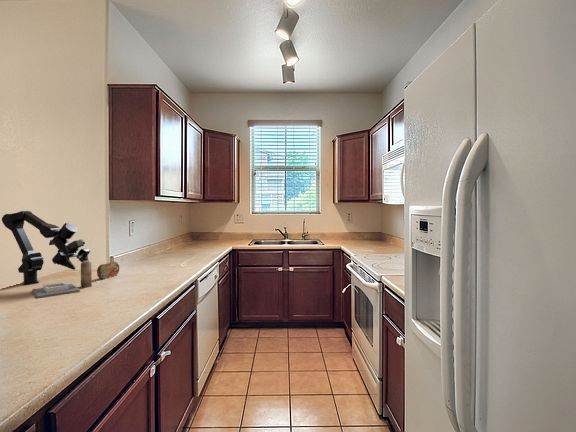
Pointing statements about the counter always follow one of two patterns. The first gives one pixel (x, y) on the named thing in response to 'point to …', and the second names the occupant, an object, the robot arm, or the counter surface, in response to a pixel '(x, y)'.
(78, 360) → the counter surface
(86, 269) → the mill
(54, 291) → the grey square frame plate
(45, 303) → the counter surface
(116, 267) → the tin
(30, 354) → the counter surface
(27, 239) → the robot arm
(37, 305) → the counter surface
